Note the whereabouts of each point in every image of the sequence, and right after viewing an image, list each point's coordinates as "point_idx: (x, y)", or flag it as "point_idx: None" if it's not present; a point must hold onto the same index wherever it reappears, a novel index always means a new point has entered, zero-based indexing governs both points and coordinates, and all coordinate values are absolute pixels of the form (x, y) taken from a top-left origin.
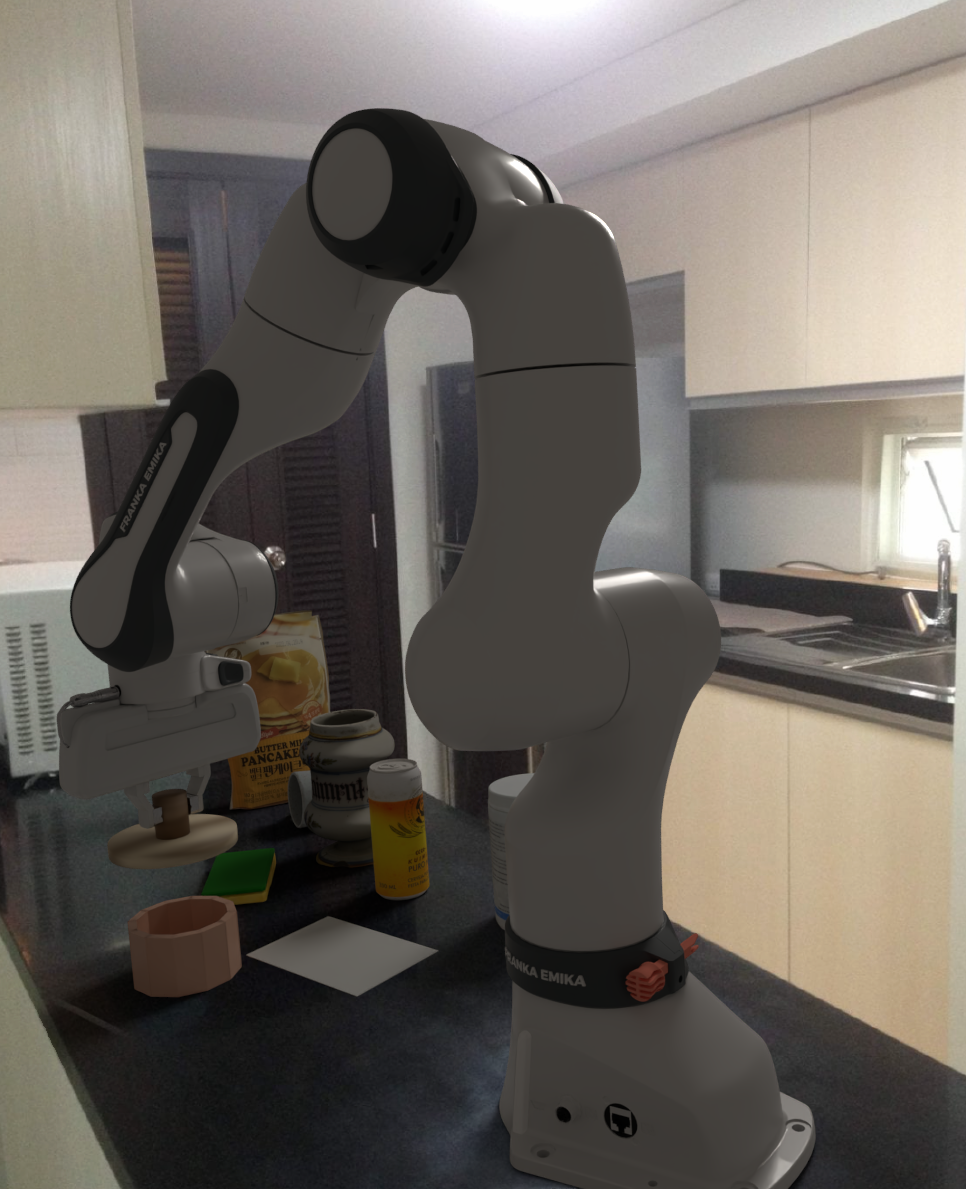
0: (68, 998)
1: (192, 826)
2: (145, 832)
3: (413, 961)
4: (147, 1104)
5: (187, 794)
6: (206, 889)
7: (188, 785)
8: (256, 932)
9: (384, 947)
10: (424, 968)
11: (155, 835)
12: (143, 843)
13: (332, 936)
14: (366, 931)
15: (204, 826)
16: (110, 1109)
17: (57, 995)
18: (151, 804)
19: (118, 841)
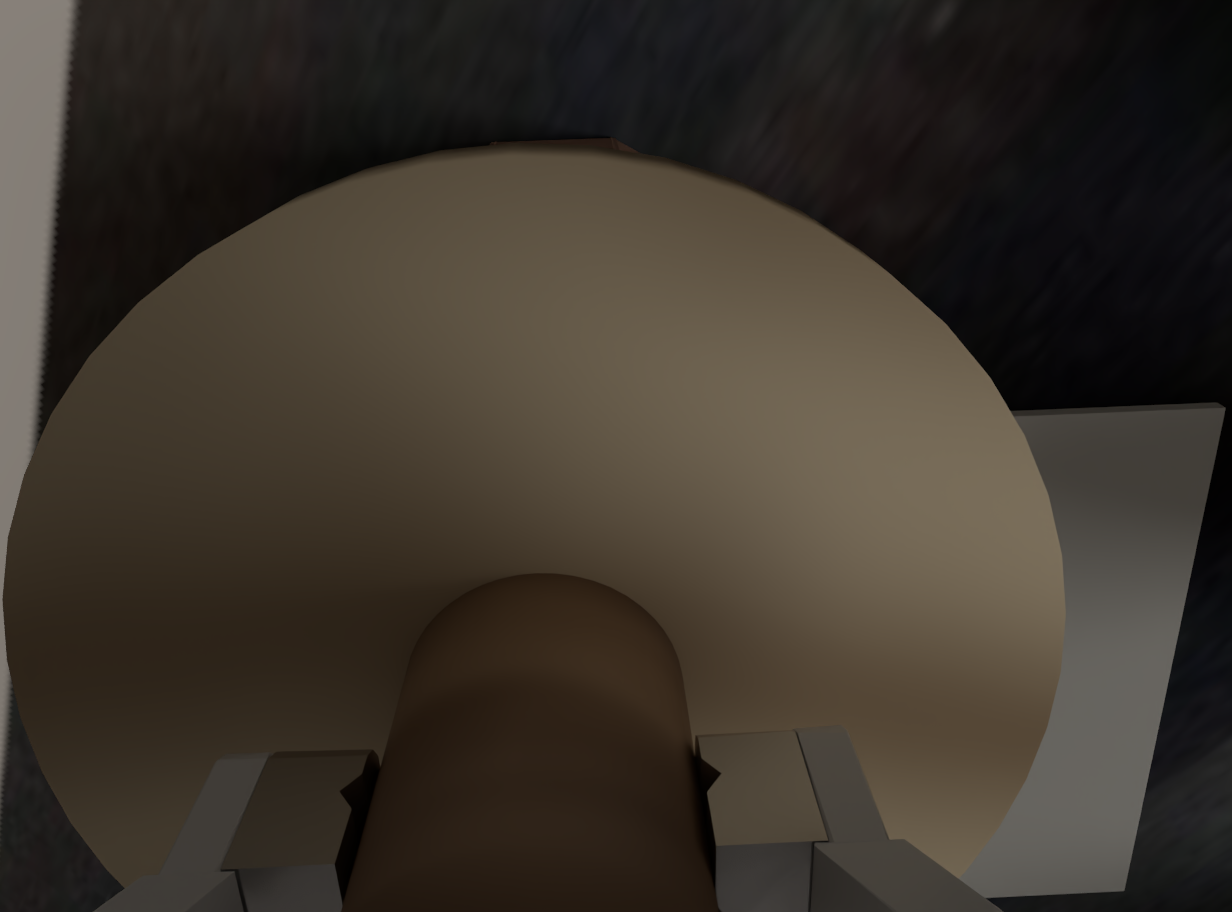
0: (135, 108)
1: (754, 664)
2: (419, 466)
3: (1027, 885)
4: (96, 886)
5: (784, 895)
6: None
7: (876, 907)
8: (989, 238)
9: (1071, 763)
10: (1022, 903)
11: (435, 607)
12: (269, 696)
13: (1070, 565)
14: (1158, 630)
15: None
16: (12, 842)
17: (107, 34)
18: (333, 880)
19: (137, 476)
